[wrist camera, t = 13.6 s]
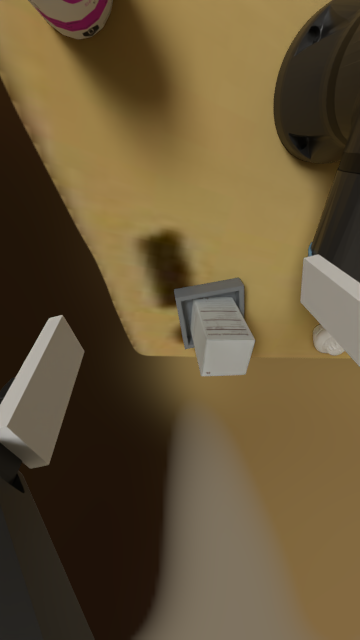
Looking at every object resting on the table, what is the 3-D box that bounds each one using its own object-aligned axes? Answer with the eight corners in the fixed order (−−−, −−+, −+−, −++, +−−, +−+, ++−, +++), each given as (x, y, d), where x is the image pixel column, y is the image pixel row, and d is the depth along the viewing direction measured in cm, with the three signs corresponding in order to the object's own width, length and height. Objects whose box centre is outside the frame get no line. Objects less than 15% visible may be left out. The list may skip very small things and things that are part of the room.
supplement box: (226, 328, 51) (246, 376, 40) (189, 328, 50) (199, 377, 39) (233, 295, 46) (257, 340, 36) (193, 295, 46) (205, 340, 35)
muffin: (316, 315, 52) (336, 337, 46) (340, 320, 53) (363, 341, 48) (300, 338, 55) (317, 362, 49) (324, 342, 57) (343, 365, 51)
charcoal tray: (238, 277, 45) (244, 285, 43) (239, 328, 52) (244, 338, 49) (173, 289, 45) (175, 298, 43) (183, 339, 52) (185, 349, 50)
